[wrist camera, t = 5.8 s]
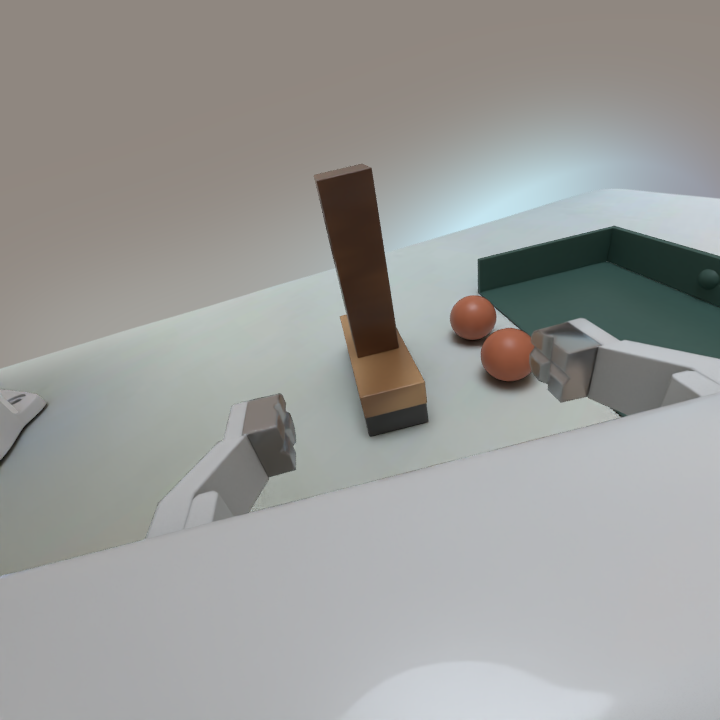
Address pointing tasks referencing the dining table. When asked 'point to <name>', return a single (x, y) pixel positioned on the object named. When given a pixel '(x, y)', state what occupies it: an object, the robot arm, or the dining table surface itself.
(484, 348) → the ball
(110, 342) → the dining table surface
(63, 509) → the dining table surface
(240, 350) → the dining table surface
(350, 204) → the brush
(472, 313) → the ball
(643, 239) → the dustpan
